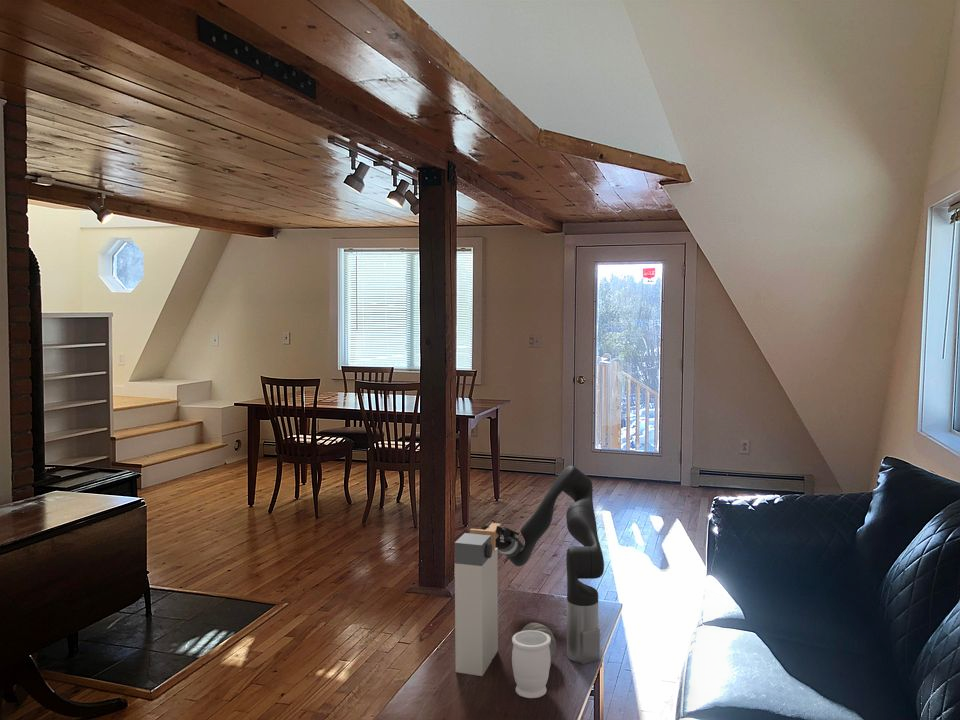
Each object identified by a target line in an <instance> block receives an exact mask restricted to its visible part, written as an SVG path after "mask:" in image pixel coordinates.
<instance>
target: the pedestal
mask: <svg viewBox="0 0 960 720" xmlns="http://www.w3.org/2000/svg"><path fill="white" fill-rule="evenodd" d="M498 553H499V551H498V548H495V550H494V549H492V544H491V535H481V534H470V532H464V533H463V534H462V535H461V536H459V537H458V539H457V540H456V541H454V614H455V615H454V618H455V619H454V622H455V623H454V625H455V626H454V627H455V628H454V630H455V631H454V632H455V634H454V635H455V638H454V640H455V647H454V648H455V649H454V650H455V652H454V653H455V673H459V674H465V675H466V674H467V675H473V676H477V677H478V676H480V677H483V676H484V675H485V673H486V671H487V670H488V668H489V666H490V665H491V663H492V662H493V660H494V658H495V657H496V655H497V653H498V648H499V637H498V635H499V633H498V632H499V631H498V629H499V623H498V622H499V620H498V619H499V617H498V616H499V613H498V612H499V608H498V607H499V606H498V601H499V599H498V598H499V596H498V594H499V591H498V588H499V587H498V586H499V583H498V577H499V576H498V574H499V573H498V567H499V566H498V562H499V561H498V560H499V557H498ZM492 659H493V660H492Z"/></svg>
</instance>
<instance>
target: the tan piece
mask: <svg viewBox="0 0 960 720" xmlns="http://www.w3.org/2000/svg"><path fill="white" fill-rule="evenodd" d="M497 526H500V527H501V526H502V523H500V522H499V523H498V522H496V523H495V522H491V524H490V525H489V527H488V528H487V529H486V530H481V528H480V529H478V528H470V529H469V533H470V534H481V535H491V544H492V549H494V550H495V539H496V538H497V537H498V536H499V535H498V534H497V533H496V528H497Z"/></svg>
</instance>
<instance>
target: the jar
mask: <svg viewBox="0 0 960 720" xmlns="http://www.w3.org/2000/svg"><path fill="white" fill-rule="evenodd" d="M550 642H551V638H550V636H549V635H548V634H546V633H544V632H541V631H536V630H526V631H521V630H520V631H517V632H516V633H514V634H513V635H512V637H511V643H512V644H513V646H512V652H511V665H512V671H513V672H512V673H513V678H514V681H515V683H516V686H515V693H516V694H517V695H518V696H520V697H522V698H526V699H538V698H541V697H543V696H544V695H546V693H547V692H548V691H547V687H546V685H547V683H548V679H549V677H550V675H549V674H550V668H551V667H550V663H551V664H552V656H550V648H549V644H550Z"/></svg>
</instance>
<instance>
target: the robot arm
mask: <svg viewBox="0 0 960 720" xmlns="http://www.w3.org/2000/svg"><path fill="white" fill-rule="evenodd" d="M593 490H594V489H593V481H592V480H591V479H590V477H589V476H588V475H586V474H585V473H584V472H583V471H581V470H579V468H577V467H576V466H575V465H569V466H566V467H565V468H564V469H563V470H562V471H561V472H560V473H559V475H558V476H557V477H556V479H555V481H554V482H553V483H552V485H551V487H550V488H549V490H548V491H547V493H546V495H545V496H544V498H543V499H542V500H541V503H540V504H539V506H538V507H537V509H536V510H535V511H534V513H533V514H532V515H531V516H530V517H529V518H528V520H526V522H525V523H524V525H523V526H522V527H521V528H520V532H518V531H515V530H513V529H510V528H509V527H507V526H504V525H503V526H502V525H501V527H500V526H497V528H496V533H497V534H498V535H499V536H498V537H497V538H496V539H495V548H498V553H499V552H500V553H501V554H503V555H504V556H505V557H507V559H508V561H510V562H511V563H512V564H513V565H514V566H515V567H523V566H524V565H525V564H526V563H528V561H529V559H530V558H531V555H532V552H533V550H534V548H535V547H536V545H537V543H538V541H540V538H542V536H543V535H544V534H545V533H546V531H547V530H549V527H550V526H551V524H552V520H553V516H554V510H555V505H556V502H557V499H558V497H559V496H560V494H561V493H562V492H563V493H564V494H566V495H567V496H568V497H570V498H571V499H572V500H573V501H574V502H573V503H572V504H571V505H569V507H568V508H567V510H566V514H565V515H566V517H565V519H566V527H567V529H568V533H569V534H570V535H571V536H572V537H573V538H574V539H575V540H576V542H578V543H580V546H579V545H577V546H576V545H575V546H569V547H568V548H567V550H566V557H565V561H566V564H565V565H566V566H565V567H566V584H567V585H566V657H567V658H568V659H569V660H571V661H573V662H576V663H579V664H582V665H585V664H589V663H593V662H596V661H599V660H600V658H601V657H600V656H601V655H600V650H601V649H600V648H601V646H600V643H601V641H600V640H601V635H600V634H601V633H600V632H601V629H600V628H599V592H598V590H597V589H596V588H594V587H593V586H591V585H588V584H585V583H583V582H582V581H580V580H582V579H583V580H584V579H587V580H592V579H593V580H595V579H599V578H601V577H602V576H603V574H604V571H605V561H604V555H603V551H602V547H601V543H600V540H599V535H598V528H597V520H596V514H595V511H594V500H593V492H594V491H593ZM489 526H490V525H489V524H485V525H484V526H482V527H481V528H480V529H481V530H486V529H487V528H488V527H489ZM520 534H521V535H522V537H523V540H524V544H523V543H522V542H521V541H520V540H519V539H520ZM581 545H582V546H581Z"/></svg>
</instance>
